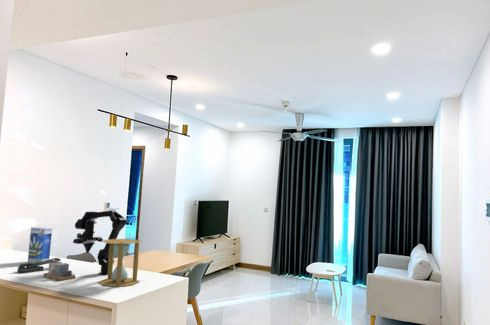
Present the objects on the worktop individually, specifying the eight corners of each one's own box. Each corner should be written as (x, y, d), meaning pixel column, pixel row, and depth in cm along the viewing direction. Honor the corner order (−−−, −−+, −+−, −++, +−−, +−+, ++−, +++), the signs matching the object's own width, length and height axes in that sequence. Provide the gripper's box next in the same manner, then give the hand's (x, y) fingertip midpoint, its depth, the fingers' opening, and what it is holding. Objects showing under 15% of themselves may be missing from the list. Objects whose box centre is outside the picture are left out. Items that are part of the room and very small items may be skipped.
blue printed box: (27, 262, 260) (30, 227, 263) (35, 260, 267) (39, 226, 270) (41, 264, 256) (44, 228, 259) (49, 262, 264) (52, 227, 266)
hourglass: (146, 281, 217) (149, 240, 219) (116, 289, 198) (120, 244, 200) (120, 276, 229) (123, 237, 231) (90, 282, 210) (93, 240, 212)
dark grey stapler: (62, 259, 244) (21, 263, 226) (61, 269, 244) (20, 274, 225) (56, 257, 250) (16, 261, 232) (56, 266, 250) (15, 271, 231)
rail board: (75, 278, 219) (76, 262, 220) (59, 281, 210) (60, 264, 211) (59, 274, 229) (60, 258, 230) (43, 276, 221) (45, 260, 221)
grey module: (68, 274, 220) (68, 263, 221) (58, 276, 215) (59, 265, 216) (64, 273, 222) (64, 262, 223) (54, 274, 218) (55, 264, 218)
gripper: (94, 228, 254) (93, 250, 253) (69, 229, 239) (67, 253, 238) (104, 229, 248) (102, 252, 247) (78, 231, 233) (76, 255, 231)
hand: (87, 253), depth 241 cm, fingers closed
